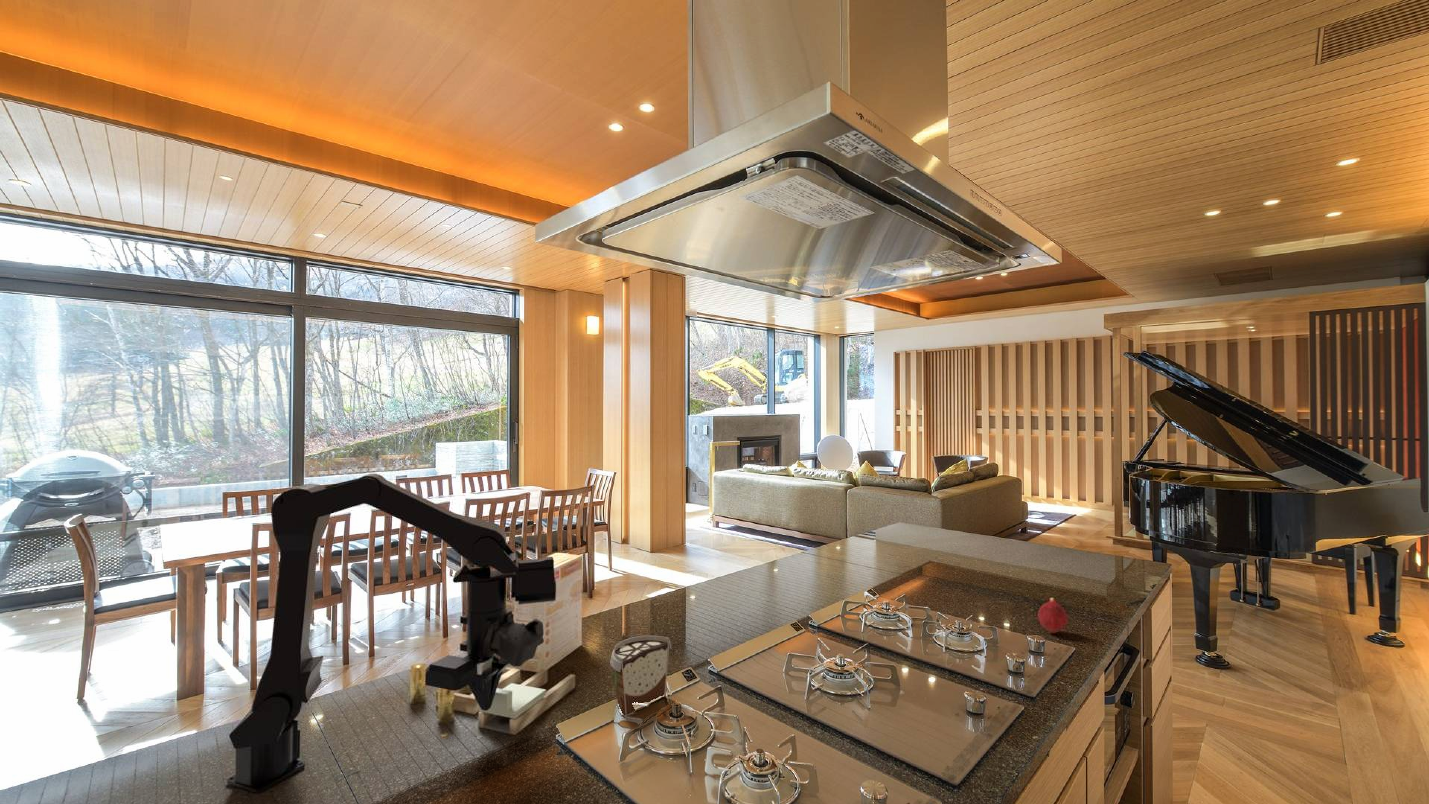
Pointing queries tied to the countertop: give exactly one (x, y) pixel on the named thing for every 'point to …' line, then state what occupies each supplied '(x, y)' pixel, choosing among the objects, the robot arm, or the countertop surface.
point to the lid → (514, 700)
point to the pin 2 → (445, 706)
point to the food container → (640, 670)
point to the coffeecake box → (556, 615)
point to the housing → (534, 711)
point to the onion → (1052, 616)
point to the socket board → (469, 701)
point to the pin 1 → (417, 683)
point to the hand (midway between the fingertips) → (485, 709)
